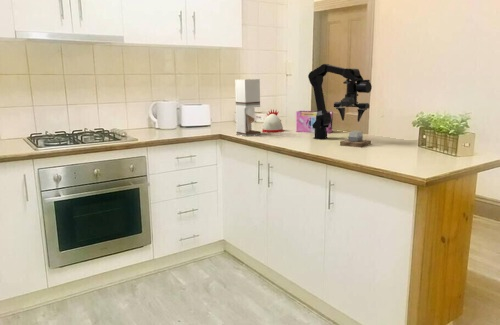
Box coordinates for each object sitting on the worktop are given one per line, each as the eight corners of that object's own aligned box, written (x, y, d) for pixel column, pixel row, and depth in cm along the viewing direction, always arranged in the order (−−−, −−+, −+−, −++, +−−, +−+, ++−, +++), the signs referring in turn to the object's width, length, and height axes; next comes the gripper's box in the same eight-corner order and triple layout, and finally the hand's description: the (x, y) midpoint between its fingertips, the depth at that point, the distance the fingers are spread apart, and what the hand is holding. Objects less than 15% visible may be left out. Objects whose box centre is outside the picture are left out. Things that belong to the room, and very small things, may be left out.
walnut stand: (339, 145, 219) (340, 141, 218) (350, 142, 228) (350, 138, 227) (361, 147, 211) (361, 143, 211) (370, 144, 220) (371, 140, 220)
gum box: (334, 132, 270) (334, 111, 267) (330, 133, 263) (330, 112, 260) (300, 130, 282) (300, 110, 279) (295, 131, 275) (295, 111, 272)
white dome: (283, 132, 274) (283, 109, 270) (262, 132, 274) (262, 110, 271) (282, 129, 287) (282, 108, 284) (262, 130, 288) (262, 108, 284)
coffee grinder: (246, 136, 258) (244, 79, 251) (236, 134, 267) (235, 79, 260) (260, 134, 265) (259, 79, 258) (250, 133, 273) (249, 79, 266)
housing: (348, 141, 218) (348, 132, 217) (353, 139, 223) (353, 130, 222) (357, 142, 215) (357, 132, 214) (362, 140, 220) (362, 131, 219)
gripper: (329, 92, 223) (328, 121, 227) (361, 93, 211) (359, 123, 215) (339, 91, 231) (338, 119, 235) (370, 92, 220) (369, 121, 223)
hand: (350, 121), depth 227 cm, fingers open, 9 cm apart
